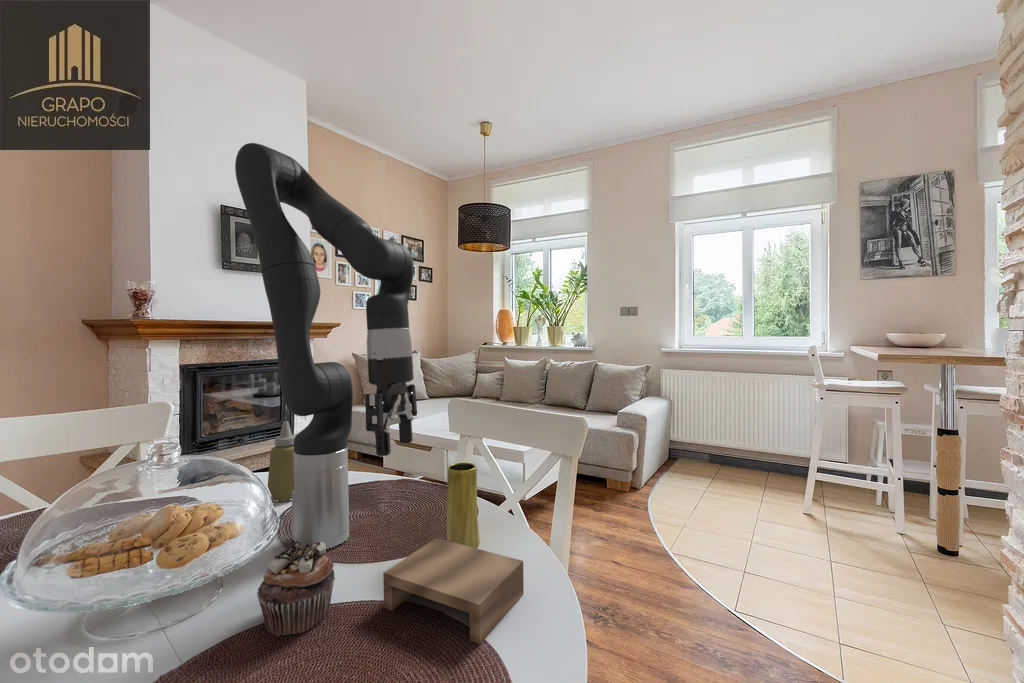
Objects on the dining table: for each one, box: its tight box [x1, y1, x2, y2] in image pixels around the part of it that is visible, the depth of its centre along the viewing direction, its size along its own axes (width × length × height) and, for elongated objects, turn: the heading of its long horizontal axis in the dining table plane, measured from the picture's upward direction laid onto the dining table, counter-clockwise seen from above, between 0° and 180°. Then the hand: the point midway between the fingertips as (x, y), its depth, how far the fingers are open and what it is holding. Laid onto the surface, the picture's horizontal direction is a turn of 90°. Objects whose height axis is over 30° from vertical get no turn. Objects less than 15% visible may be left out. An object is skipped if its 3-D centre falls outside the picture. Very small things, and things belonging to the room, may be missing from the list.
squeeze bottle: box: [267, 420, 296, 502], centre depth 106 cm, size 8×8×18 cm
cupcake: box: [256, 541, 336, 637], centre depth 62 cm, size 10×10×10 cm
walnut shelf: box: [382, 537, 525, 645], centre depth 65 cm, size 16×12×5 cm
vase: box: [446, 462, 481, 549], centre depth 82 cm, size 6×6×14 cm
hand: (395, 448), depth 78 cm, fingers open, 8 cm apart
